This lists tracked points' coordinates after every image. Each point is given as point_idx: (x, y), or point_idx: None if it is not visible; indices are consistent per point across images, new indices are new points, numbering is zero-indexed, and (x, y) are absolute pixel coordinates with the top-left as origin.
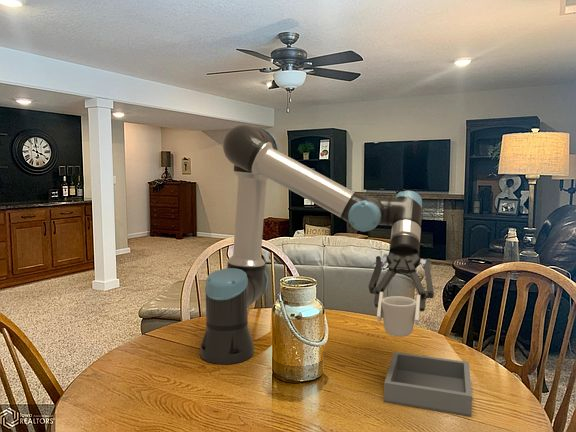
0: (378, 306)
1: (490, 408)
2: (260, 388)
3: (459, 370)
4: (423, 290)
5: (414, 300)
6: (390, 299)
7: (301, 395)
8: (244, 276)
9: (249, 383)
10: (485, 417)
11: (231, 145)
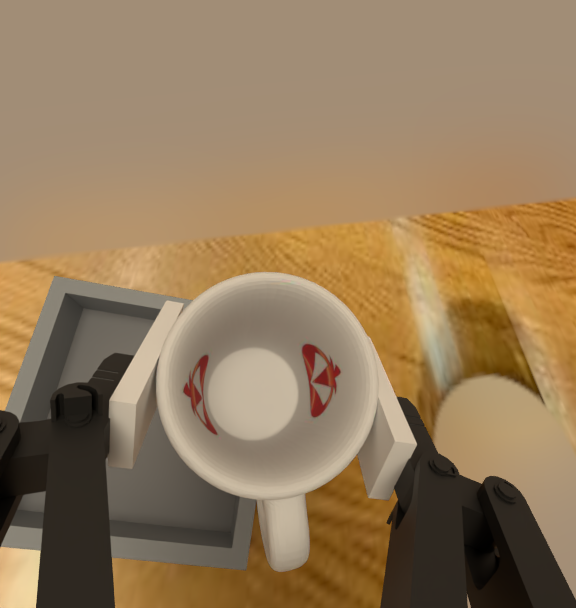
0: (381, 368)
1: (5, 341)
2: (542, 341)
3: (16, 518)
4: (60, 435)
5: (163, 392)
6: (323, 456)
7: (453, 326)
8: None
9: (573, 360)
10: (39, 296)
11: None
